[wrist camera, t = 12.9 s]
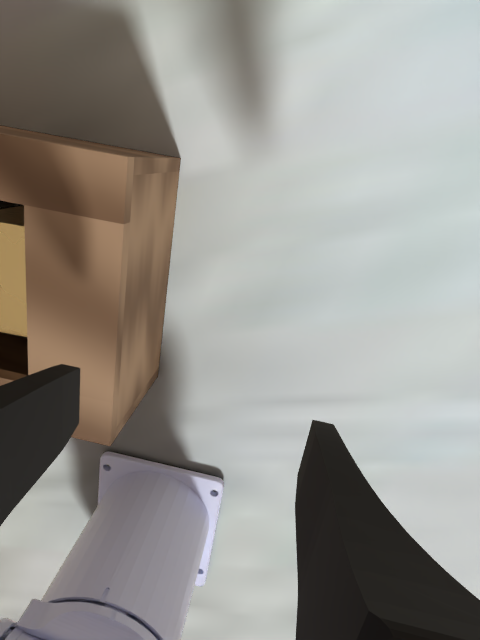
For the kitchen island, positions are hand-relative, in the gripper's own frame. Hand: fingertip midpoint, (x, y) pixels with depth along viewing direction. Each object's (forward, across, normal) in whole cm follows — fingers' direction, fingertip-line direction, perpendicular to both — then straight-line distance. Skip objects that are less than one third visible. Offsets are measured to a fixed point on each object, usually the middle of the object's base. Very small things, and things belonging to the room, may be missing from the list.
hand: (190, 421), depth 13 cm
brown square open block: (+10, +10, -1) cm, 14 cm away
